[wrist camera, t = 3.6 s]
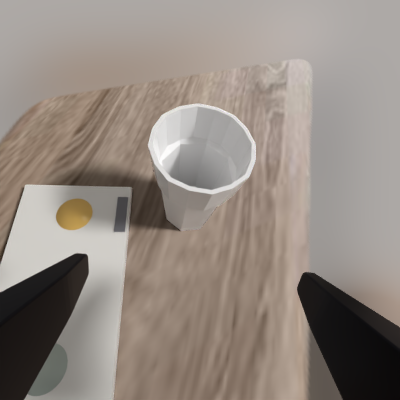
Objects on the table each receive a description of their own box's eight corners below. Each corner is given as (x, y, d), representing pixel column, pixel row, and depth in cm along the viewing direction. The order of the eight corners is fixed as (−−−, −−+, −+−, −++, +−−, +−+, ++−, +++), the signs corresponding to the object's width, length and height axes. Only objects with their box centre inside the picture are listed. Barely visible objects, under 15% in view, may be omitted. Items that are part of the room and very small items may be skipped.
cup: (210, 246, 22) (246, 208, 12) (147, 227, 21) (130, 172, 11) (223, 191, 24) (262, 121, 14) (168, 174, 24) (169, 92, 14)
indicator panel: (112, 407, 16) (109, 413, 15) (-42, 425, 14) (-55, 434, 14) (132, 190, 23) (131, 186, 22) (30, 188, 21) (24, 184, 21)
